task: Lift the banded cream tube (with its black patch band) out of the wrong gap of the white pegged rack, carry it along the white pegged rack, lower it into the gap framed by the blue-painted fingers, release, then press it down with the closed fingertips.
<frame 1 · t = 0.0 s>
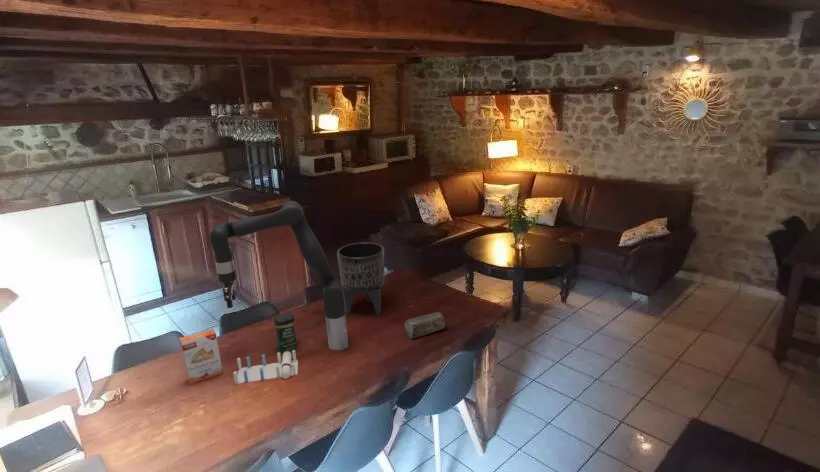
hand: (231, 303, 215), 29 cm above the table, fingers open, 8 cm apart
stone block: (425, 332, 243), on the table
coffee jar: (288, 349, 232), on the table
white pegged rack: (268, 372, 214), on the table
cracker box: (205, 377, 213), on the table
planter: (365, 309, 269), on the table
banded cream tube: (287, 368, 215), point 1 cm above the table, touching white pegged rack
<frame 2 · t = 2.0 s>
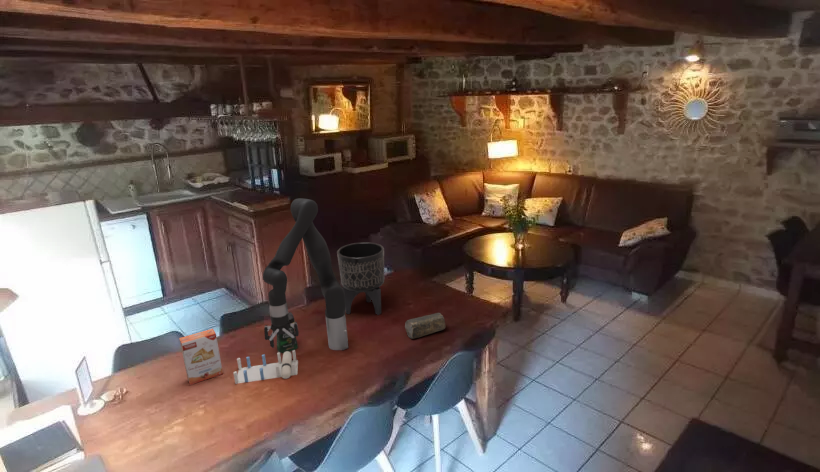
hand: (283, 345, 211), 12 cm above the table, fingers open, 8 cm apart
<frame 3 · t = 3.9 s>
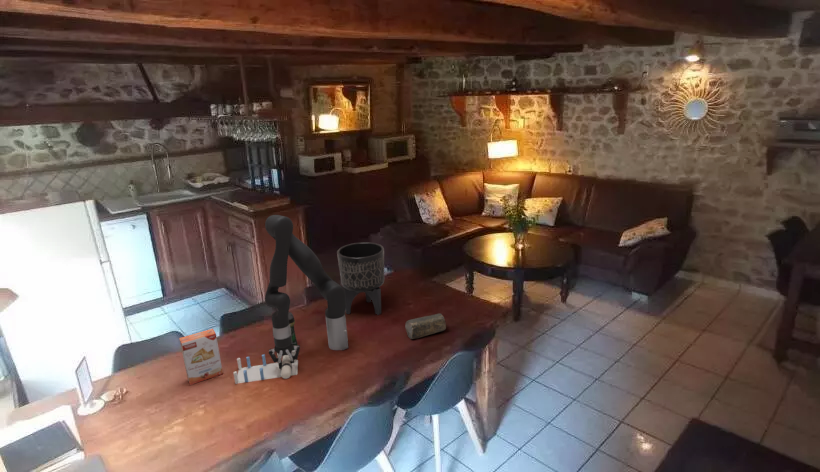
hand: (287, 368, 215), 1 cm above the table, fingers closed on banded cream tube, 4 cm apart
banded cream tube: (287, 368, 215), point 1 cm above the table, touching white pegged rack, gripper
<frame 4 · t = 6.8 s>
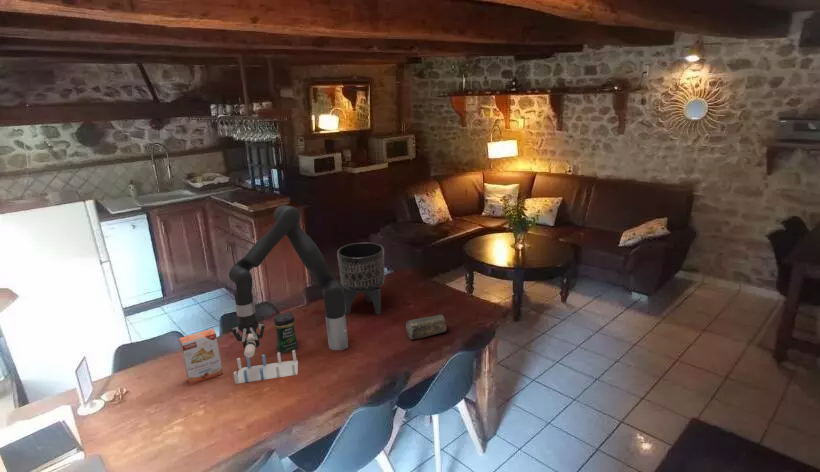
hand: (251, 347, 209), 14 cm above the table, fingers closed on banded cream tube, 4 cm apart
banded cream tube: (251, 347, 209), point 14 cm above the table, touching gripper
when the fingers open (2 cm above the table, at t = 9.6 s): banded cream tube stays where it is, resting on white pegged rack.
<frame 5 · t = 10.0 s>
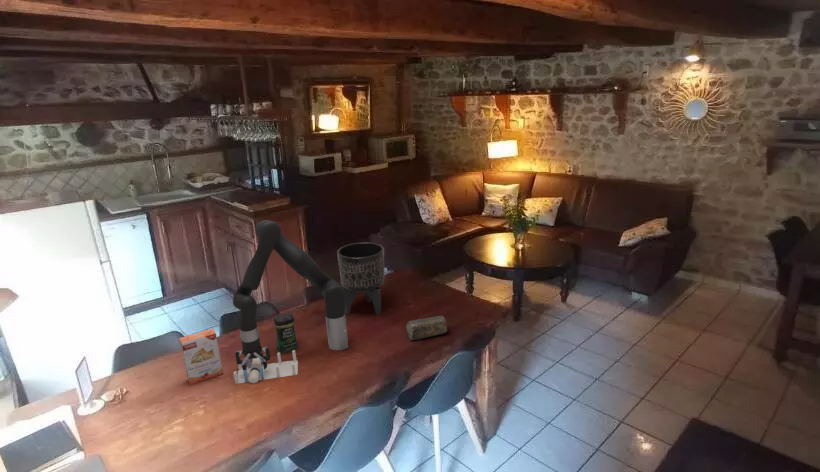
hand: (255, 369, 212), 3 cm above the table, fingers open, 8 cm apart
banded cream tube: (255, 372, 213), point 1 cm above the table, touching white pegged rack
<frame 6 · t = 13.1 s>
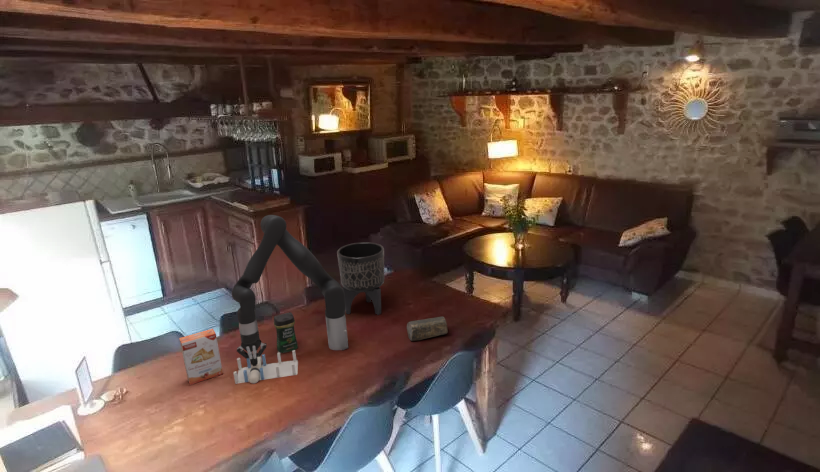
hand: (254, 364, 211), 5 cm above the table, fingers closed
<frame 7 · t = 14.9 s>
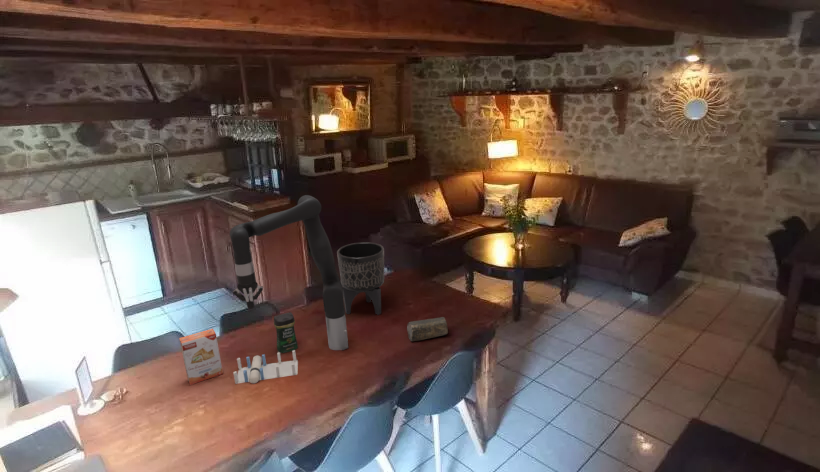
hand: (251, 308, 211), 29 cm above the table, fingers closed
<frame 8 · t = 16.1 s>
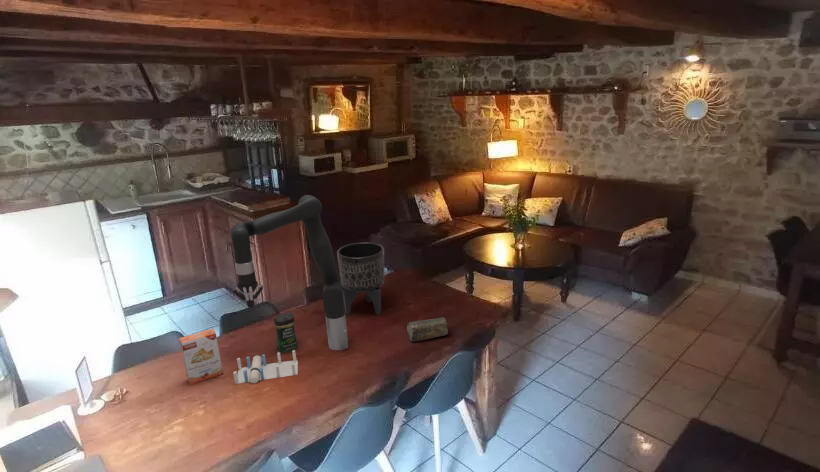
hand: (251, 307, 211), 29 cm above the table, fingers closed
at the end: banded cream tube 0.0 cm from the target spot on the white pegged rack, point 0.8 cm above the white pegged rack's base; the gripper is holding nothing; banded cream tube touching white pegged rack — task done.
